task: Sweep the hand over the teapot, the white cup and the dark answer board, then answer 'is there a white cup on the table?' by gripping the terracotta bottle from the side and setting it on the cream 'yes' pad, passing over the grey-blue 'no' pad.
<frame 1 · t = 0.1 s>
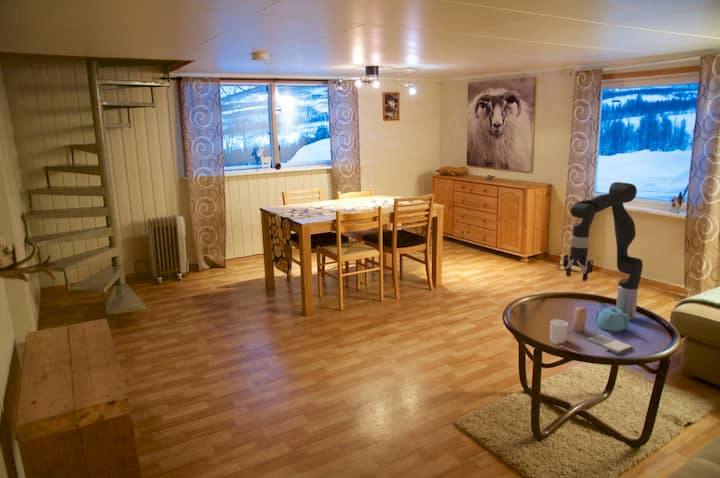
hand: (576, 278, 239), 29 cm above the table, tool pointing down, fingers open, 8 cm apart
answer board: (596, 341, 239), on the table
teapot: (611, 329, 252), on the table
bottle: (578, 331, 247), point 1 cm above the table, touching answer board
white cup: (557, 342, 238), on the table
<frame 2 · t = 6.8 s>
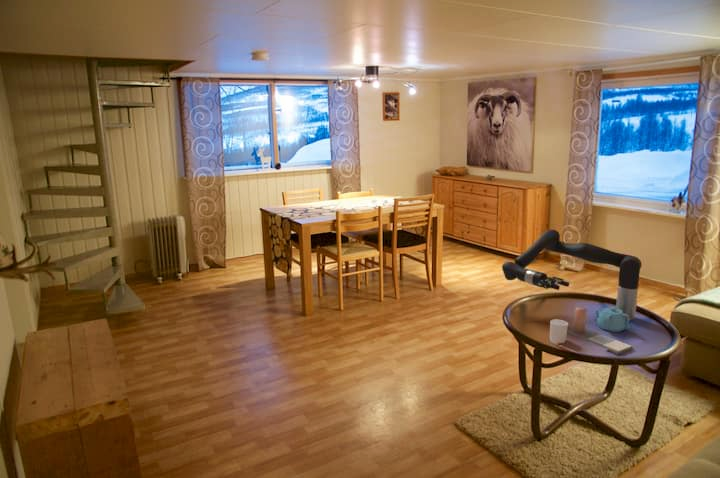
hand: (563, 286, 250), 22 cm above the table, tool horizontal, fingers open, 8 cm apart
nothing on the table moved.
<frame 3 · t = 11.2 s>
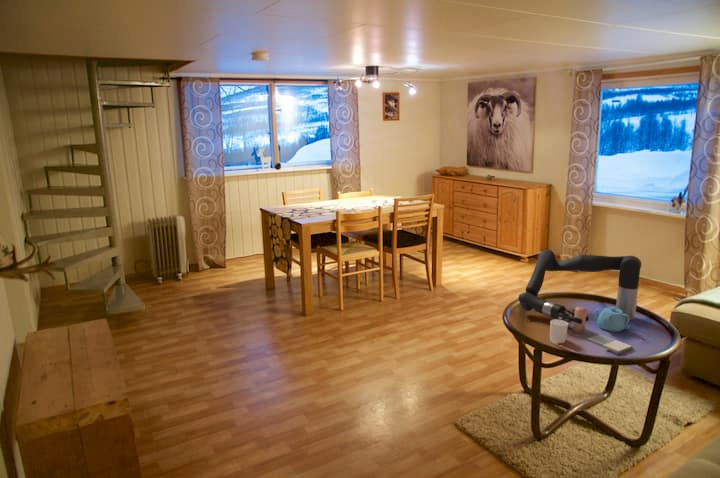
hand: (584, 320, 243), 8 cm above the table, tool horizontal, fingers closed on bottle, 5 cm apart
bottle: (578, 331, 247), point 1 cm above the table, touching answer board, gripper
everything else where it was.
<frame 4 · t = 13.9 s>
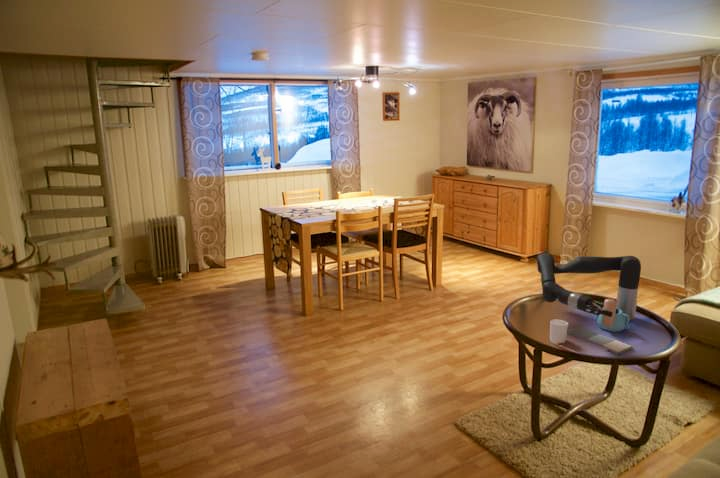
hand: (614, 313, 229), 16 cm above the table, tool horizontal, fingers closed on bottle, 5 cm apart
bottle: (607, 324, 233), point 10 cm above the table, touching gripper
everything else where it was.
when the fingers open (10 cm above the table, at t = 16.8 s): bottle drops 1 cm, resting on answer board.
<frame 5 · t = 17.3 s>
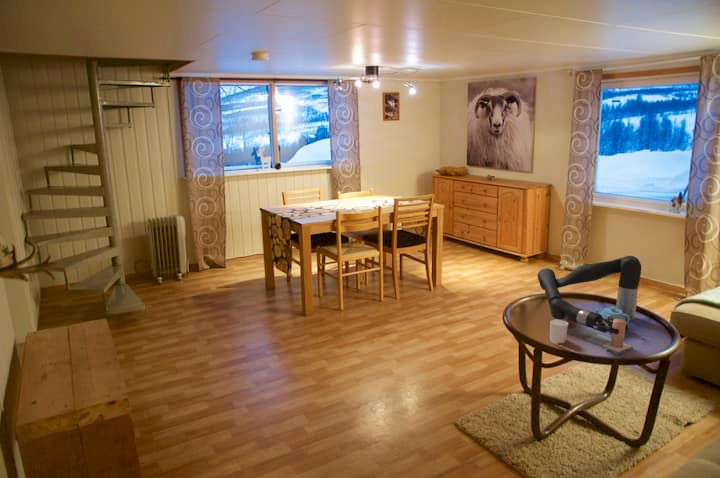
hand: (623, 329, 227), 10 cm above the table, tool horizontal, fingers open, 8 cm apart
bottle: (616, 345, 230), point 2 cm above the table, touching answer board
everything else where it was.
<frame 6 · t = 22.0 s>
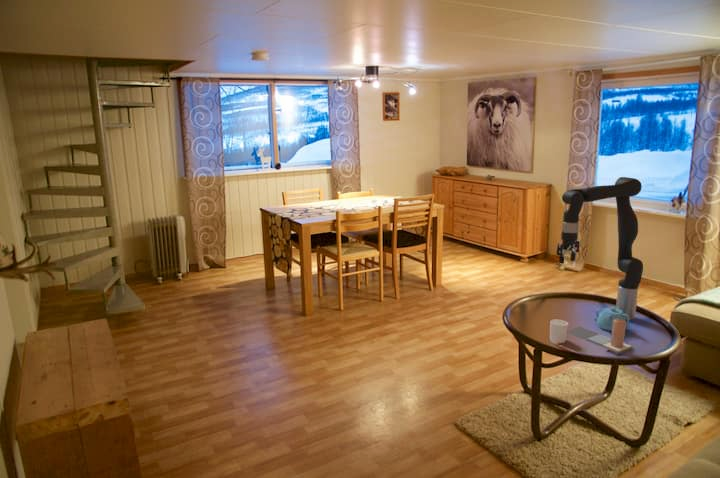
hand: (567, 262, 253), 33 cm above the table, tool pointing down, fingers open, 8 cm apart
nothing on the table moved.
at the end: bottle inside the target area on the answer board (0.1 cm from its centre), point 1.9 cm above the answer board's base; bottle tilted 2°; the gripper is holding nothing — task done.
